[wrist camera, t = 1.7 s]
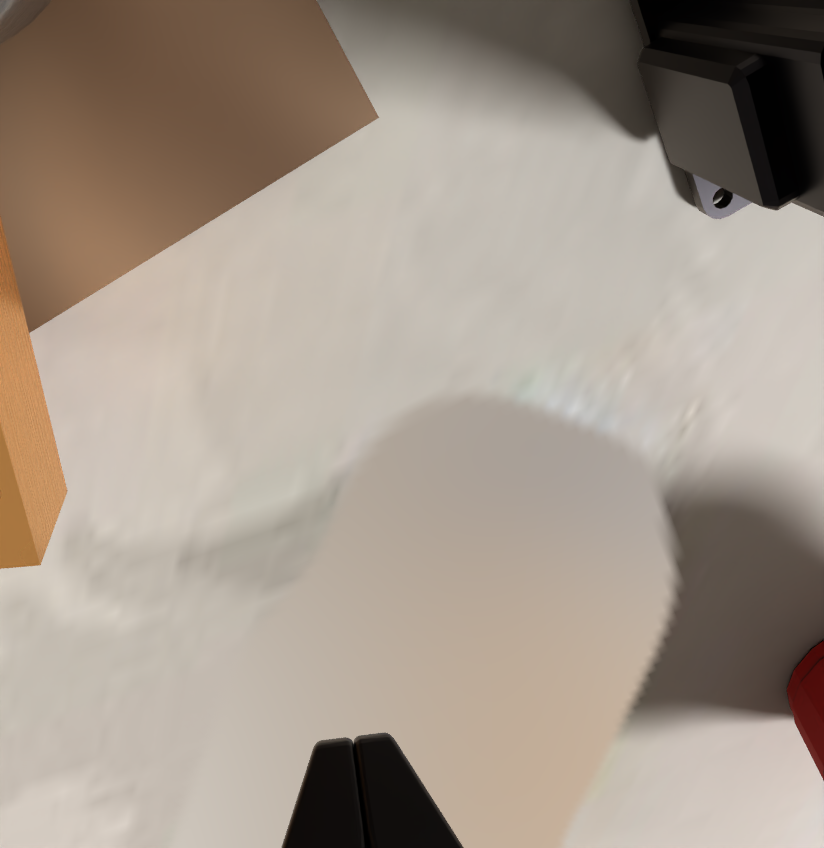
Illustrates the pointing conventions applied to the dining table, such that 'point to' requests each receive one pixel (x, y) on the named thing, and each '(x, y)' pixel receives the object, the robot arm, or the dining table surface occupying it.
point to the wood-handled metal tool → (23, 399)
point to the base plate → (154, 128)
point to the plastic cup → (810, 702)
